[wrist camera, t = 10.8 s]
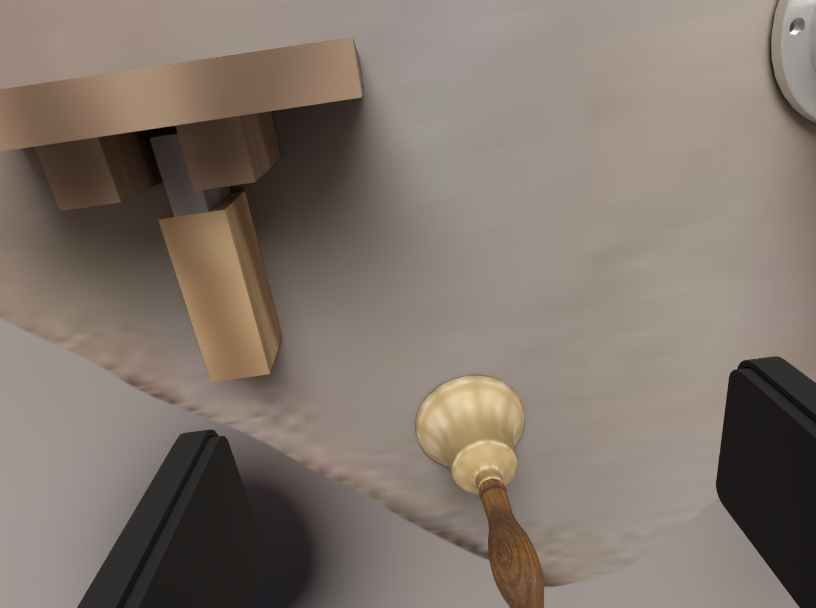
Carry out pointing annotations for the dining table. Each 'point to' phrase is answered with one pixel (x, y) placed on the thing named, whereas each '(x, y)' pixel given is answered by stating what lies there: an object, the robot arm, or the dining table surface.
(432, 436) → the hand bell
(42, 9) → the dining table surface
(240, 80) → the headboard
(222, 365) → the tan and gray block
